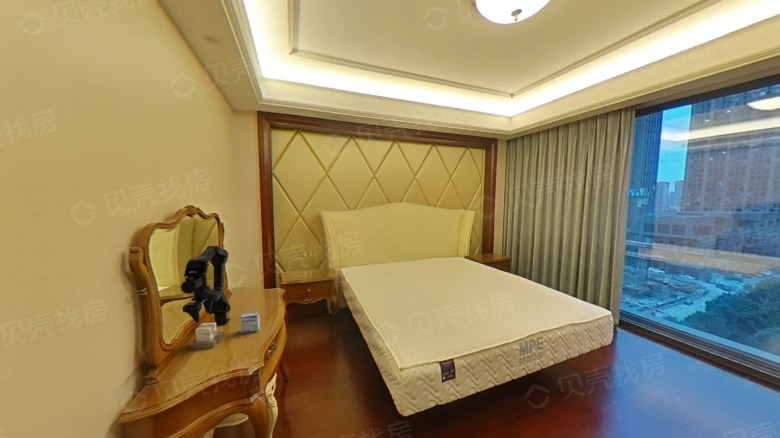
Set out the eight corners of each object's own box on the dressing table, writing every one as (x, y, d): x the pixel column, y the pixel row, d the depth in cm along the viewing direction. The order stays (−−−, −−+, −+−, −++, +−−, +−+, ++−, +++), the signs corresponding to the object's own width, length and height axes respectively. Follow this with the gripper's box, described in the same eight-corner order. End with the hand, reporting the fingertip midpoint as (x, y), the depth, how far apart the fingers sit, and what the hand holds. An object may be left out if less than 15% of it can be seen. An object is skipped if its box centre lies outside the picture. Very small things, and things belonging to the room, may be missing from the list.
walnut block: (202, 339, 134) (201, 333, 134) (224, 337, 135) (223, 331, 135) (190, 351, 124) (189, 344, 124) (213, 349, 125) (213, 342, 125)
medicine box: (241, 334, 137) (239, 317, 136) (243, 330, 141) (242, 313, 140) (258, 331, 139) (257, 315, 138) (260, 327, 143) (259, 311, 143)
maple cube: (203, 335, 132) (202, 323, 131) (217, 334, 133) (215, 322, 132) (196, 342, 126) (195, 329, 125) (210, 340, 127) (209, 328, 126)
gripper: (207, 291, 120) (211, 326, 121) (227, 278, 138) (230, 308, 140) (179, 293, 118) (183, 328, 120) (203, 279, 137) (207, 309, 139)
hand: (203, 317), depth 130 cm, fingers open, 9 cm apart
